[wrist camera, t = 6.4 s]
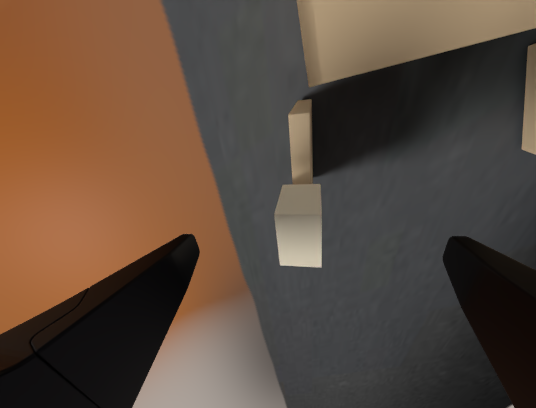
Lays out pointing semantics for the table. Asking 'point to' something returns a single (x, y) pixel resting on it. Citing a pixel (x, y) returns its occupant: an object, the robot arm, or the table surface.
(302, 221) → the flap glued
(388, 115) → the table surface
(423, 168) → the table surface
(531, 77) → the flap open
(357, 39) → the carton
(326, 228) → the table surface
